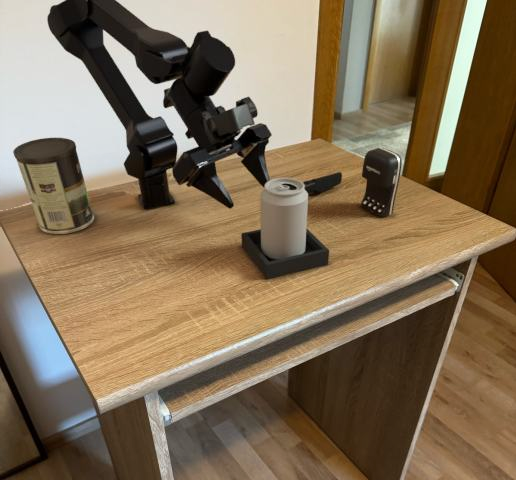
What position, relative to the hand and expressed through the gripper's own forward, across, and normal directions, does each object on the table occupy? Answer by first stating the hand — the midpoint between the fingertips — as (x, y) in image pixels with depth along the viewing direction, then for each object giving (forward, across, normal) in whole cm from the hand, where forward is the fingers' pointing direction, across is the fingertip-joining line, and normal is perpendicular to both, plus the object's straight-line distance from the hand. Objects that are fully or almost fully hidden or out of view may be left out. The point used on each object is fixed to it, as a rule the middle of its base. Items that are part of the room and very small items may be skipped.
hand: (251, 197), depth 81 cm
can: (+11, 0, +1) cm, 11 cm away
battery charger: (+13, +24, -1) cm, 28 cm away
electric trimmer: (+3, +22, +9) cm, 24 cm away
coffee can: (-17, -17, +29) cm, 38 cm away
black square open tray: (+11, 0, +1) cm, 11 cm away
